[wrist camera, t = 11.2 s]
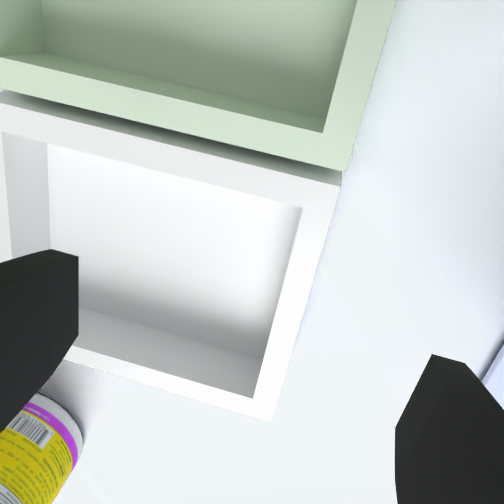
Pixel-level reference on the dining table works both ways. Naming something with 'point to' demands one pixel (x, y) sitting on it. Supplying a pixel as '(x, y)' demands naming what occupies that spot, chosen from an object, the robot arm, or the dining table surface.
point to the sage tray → (206, 66)
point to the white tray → (168, 246)
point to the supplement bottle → (38, 453)
